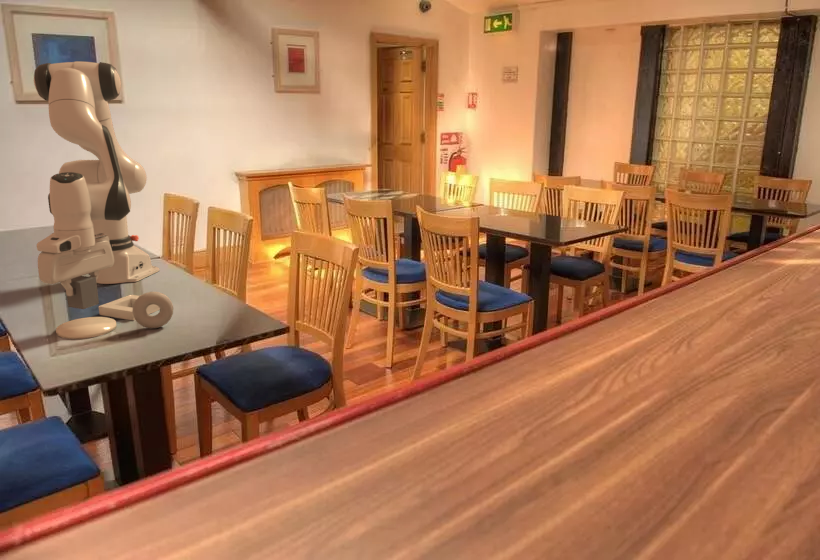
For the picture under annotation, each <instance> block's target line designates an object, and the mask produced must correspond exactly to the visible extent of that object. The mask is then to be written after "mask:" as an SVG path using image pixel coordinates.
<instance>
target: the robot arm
mask: <svg viewBox="0 0 820 560" xmlns="http://www.w3.org/2000/svg"><path fill="white" fill-rule="evenodd" d="M33 85H34V88H35V90H36V92H37V94H38V96H39V97H40V98H42V100H45V101H47V102H48V116H49V122H50V126H51V128H52V130H53V131H54V132H55V133H56V134H57V135H58V136H59V137H60V138H62V139H64V140H66V141H67V142H69V143H71V144H75V145H78V146H79V147H80V148H81V149H82V150H85V151H87V152H89V153H91V154H93V155H94V156H95V157H96V158H97V159H77V160H70V161H68V162H64V163H63V164H62V165H61V167H60V168H59V171H58V173H56V174H53V175H52V176H51V177H50V178H49V193H48V195H47V200H48V208H49V209H48V210H49V212H50V214H51V215H52V217H53V220H54V221H53V233H50V234H49V235H48V236H47V237H44V238H43V239H42V240H40V241H38V242H37V244H36V250H37V251H38V252H39V254H38V255H37V256H38V257H37V271H38V277H39V280H40V281H41V282H43V284H48V285H49V284H50V285H55V284H59V283H60V285H62V287H63V289H65V295H66V297H67V296H73V295H76V288H72V286H71V285H70V284H69V283H71V279H72V278H75V277H79V276H86V275H89V277H94V278H96V282H97V284H102V285H103V284H104V285H109V284H110V285H112V284H113V285H114V284H122V283H135V282H139V281H141V280H144V279H145V278H147V277H149V276H152V275H154V274H156V273H158V272H160V271H161V270H160V268H159V267H157V266H154V265H152V260H151V257H150V255H149V254H148V253H147V252H146V251H143V250H142V249H140V248H138V247H137V246H135V244H134V242H139V238H140V237H139V235H137V234H136V235H135V234H132V235H129V229H128V218H127V216H128V215H129V213H130V212H131V208H132V200H131V195H130V194H135V193H141V192H142V191H143V190H144V188H145V186H146V184H147V180H148V179H147V178H148V177H147V173H146V170H145V168H144V167H143V166H142V165H141V163H140V162H137V161H136V160H135V159H133V158H131V157H130V156H129V155H128V154H127V153H126V152H125V150H123V148H122V146H121V145H120V144H119V142H118V138H117V137H116V133H115V128H114V125H113V120H112V119H113V118H112V114H111V110H110V109H111V108H110V105H109V102H111V101H113V100H116V99H117V98H118V97H119V95H120V92H121V88H122V80H121V77H120V74H119V73H118V71H117V69H116V67H114V65H112V64H111V63H107V62H103V61H101V62H94V61H93V62H92V61H80V60H79V61H72V62H71V61H65V62H54V63H51V62H47V63H42V64H39V65H38V66H37V67H36V68H35V69H34V75H33Z"/></svg>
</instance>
